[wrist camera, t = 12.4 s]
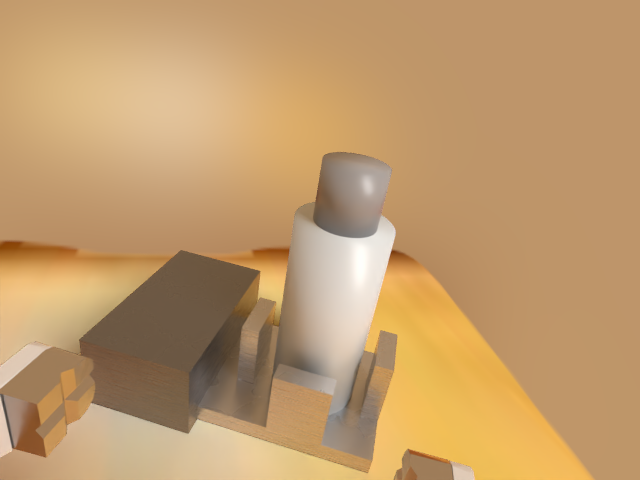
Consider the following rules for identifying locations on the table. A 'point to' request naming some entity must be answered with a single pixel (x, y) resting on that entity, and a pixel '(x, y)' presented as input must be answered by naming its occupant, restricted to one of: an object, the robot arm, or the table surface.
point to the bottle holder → (227, 365)
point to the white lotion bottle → (336, 272)
